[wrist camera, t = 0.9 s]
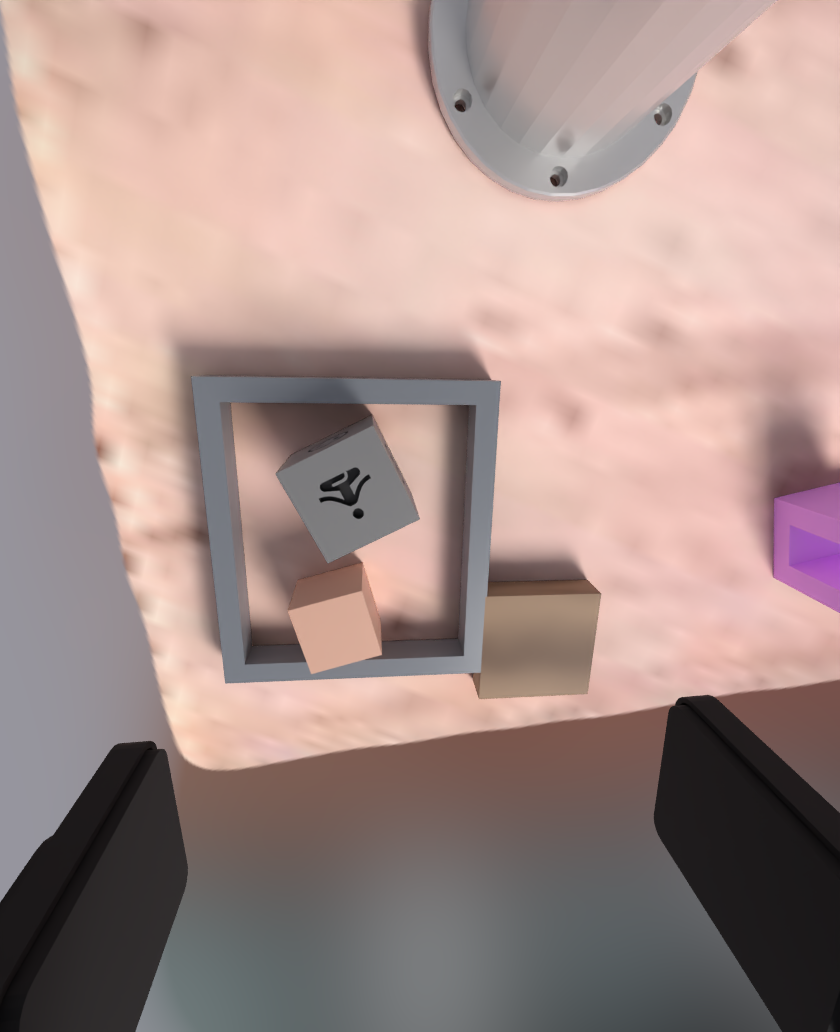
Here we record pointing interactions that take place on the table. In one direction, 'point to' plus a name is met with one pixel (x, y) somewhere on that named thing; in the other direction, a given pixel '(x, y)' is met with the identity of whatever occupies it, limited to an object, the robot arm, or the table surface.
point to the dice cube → (348, 489)
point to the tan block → (537, 638)
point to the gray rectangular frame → (227, 529)
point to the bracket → (809, 543)
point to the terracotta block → (336, 618)
